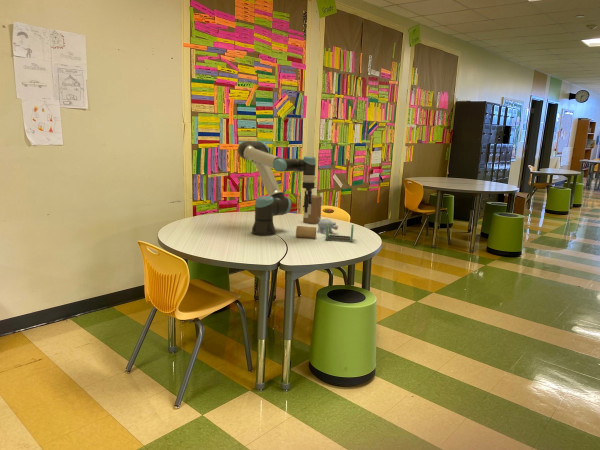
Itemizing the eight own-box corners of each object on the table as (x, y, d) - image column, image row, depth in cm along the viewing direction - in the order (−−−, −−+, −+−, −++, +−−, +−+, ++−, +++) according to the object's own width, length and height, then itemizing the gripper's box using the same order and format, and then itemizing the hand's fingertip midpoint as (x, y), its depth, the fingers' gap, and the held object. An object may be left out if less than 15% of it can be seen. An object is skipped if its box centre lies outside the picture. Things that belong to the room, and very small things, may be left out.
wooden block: (320, 222, 322) (322, 196, 318) (314, 224, 313) (315, 197, 309) (309, 220, 327) (310, 194, 323) (302, 222, 319) (303, 195, 315)
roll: (295, 237, 268) (296, 226, 267) (297, 235, 274) (297, 225, 273) (314, 239, 266) (315, 228, 265) (316, 237, 273) (316, 226, 272)
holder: (325, 240, 264) (326, 226, 262) (326, 236, 274) (327, 223, 272) (352, 242, 262) (353, 228, 260) (352, 238, 272) (353, 224, 270)
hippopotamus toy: (333, 235, 280) (334, 221, 278) (313, 232, 287) (314, 218, 285) (340, 232, 289) (341, 219, 287) (321, 229, 296) (321, 216, 294)
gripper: (312, 184, 251) (310, 219, 255) (316, 180, 275) (315, 213, 279) (299, 183, 252) (298, 218, 256) (305, 179, 276) (303, 212, 280)
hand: (307, 215), depth 267 cm, fingers open, 13 cm apart
